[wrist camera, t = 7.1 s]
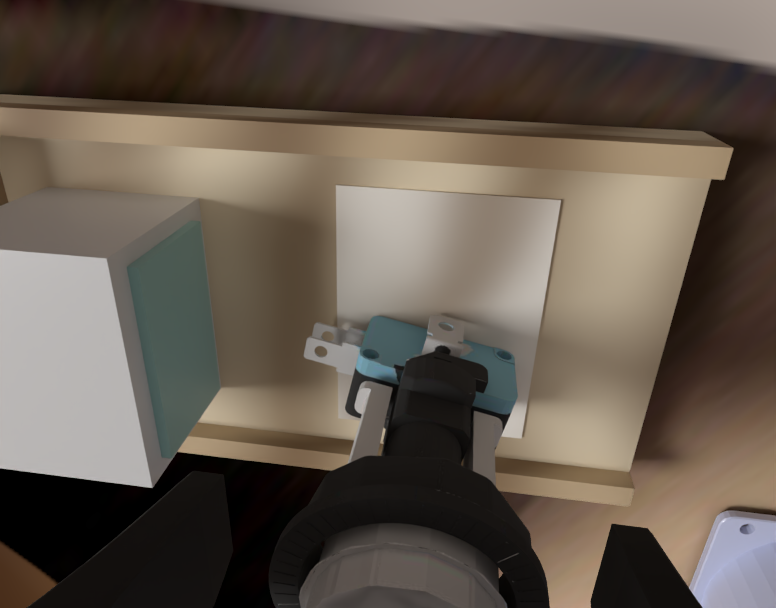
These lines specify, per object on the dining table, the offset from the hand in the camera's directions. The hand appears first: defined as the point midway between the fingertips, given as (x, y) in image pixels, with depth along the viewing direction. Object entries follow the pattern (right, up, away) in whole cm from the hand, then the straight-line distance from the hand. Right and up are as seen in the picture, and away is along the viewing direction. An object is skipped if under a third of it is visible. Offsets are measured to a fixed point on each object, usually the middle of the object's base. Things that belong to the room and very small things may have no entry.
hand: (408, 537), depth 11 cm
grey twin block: (-9, +5, +9) cm, 13 cm away
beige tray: (-3, +5, +9) cm, 11 cm away
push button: (+1, +3, +8) cm, 9 cm away
